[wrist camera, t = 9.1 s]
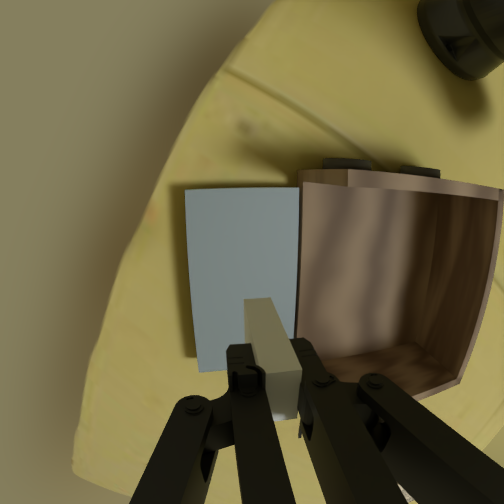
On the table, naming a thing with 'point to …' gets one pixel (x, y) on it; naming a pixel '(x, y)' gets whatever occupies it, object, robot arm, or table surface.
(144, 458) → the table surface
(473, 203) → the box
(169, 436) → the robot arm
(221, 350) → the panel
